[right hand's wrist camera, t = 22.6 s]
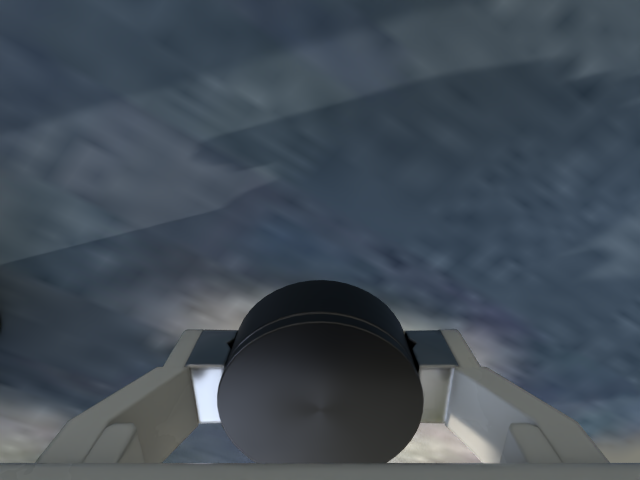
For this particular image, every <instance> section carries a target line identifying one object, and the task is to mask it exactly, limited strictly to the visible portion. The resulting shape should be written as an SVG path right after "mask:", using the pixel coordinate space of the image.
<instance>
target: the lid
mask: <svg viewBox="0 0 640 480" xmlns="http://www.w3.org/2000/svg"><path fill="white" fill-rule="evenodd" d="M423 407H424V395H423V388H422V385H421V381H420V378H419V375H418V372H417V369H416V366H415V363H414V360H413V357H412V354H411V352H410V349H409V346H408V343H407V340H406V337H405V334H404V331H403V329H402V327H401V325H400V322H399V321H398V319H397V318H396V316H395V315H394V313H393V312H392V311H391V310H390V309H389V308H388V307H387V306H386V305H385V304H384V303H383V302H382V301H381V300H379V299H378V298H377V297H375V296H373V295H372V294H370V293H369V292H367V291H365V290H362V289H360V288H358V287H355V286H352V285H349V284H346V283H341V282H336V281H327V280H314V281H305V282H299V283H295V284H292V285H288V286H285V287H283V288H281V289H278V290H276V291H274V292H273V293H271V294H269V295H267V296H266V297H264V298H263V299H262V300H261V301H259V302H258V303H257V304H256V305H255V306H254V307H253V308H252V309H251V310H250V311H249V313H248V314H247V315H246V317H245V318H244V320H243V322H242V324H241V326H240V328H239V330H238V333H237V336H236V338H235V341H234V344H233V346H232V349H231V352H230V355H229V357H228V360H227V363H226V366H225V368H224V371H223V373H222V376H221V379H220V382H219V385H218V392H217V408H218V413H219V418H220V420H221V423H222V426H223V428H224V430H225V432H226V433H227V435H228V437H229V438H230V439H231V441H232V442H233V443H234V445H235V446H236V447H237V448H238V449H239V450H240V451H241V452H242V453H243V454H245V455H246V456H247V457H248V458H250V459H251V460H253V461H254V462H256V463H387V462H388V461H390V460H391V459H393V458H394V457H395V456H397V455H398V454H399V453H400V452H401V451H402V450H403V449H404V448H405V447H406V446H407V444H408V443H409V442H410V441H411V439H412V438H413V436H414V435H415V433H416V431H417V429H418V427H419V424H420V422H421V418H422V414H423Z"/></svg>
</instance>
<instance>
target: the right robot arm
mask: <svg viewBox="0 0 640 480" xmlns="http://www.w3.org/2000/svg"><path fill="white" fill-rule="evenodd" d="M237 333H238V330H186V331H184V332H183V334H182V335H181V337H180V339H179V340H178V342H177V344H176V345H175V347H174V349H173V351H172V352H171V354H170V356H169V357H168V359H167V361H166V362H165V364H164V366H163V367H157V368H155V369H153V370H152V371H150V372H148V373H147V374H145V375H143V376H142V377H140V378H138V379H137V380H135V381H134V382H132V383H130V384H129V385H127V386H125V387H124V388H122V389H120V390H119V391H117V392H115V393H114V394H112V395H110V396H109V397H107V398H106V399H104V400H102V401H101V402H99V403H97V404H96V405H94V406H92V407H91V408H89V409H87V410H86V411H84V412H83V413H81V414H79V415H78V416H76V417H74V418H73V419H71V420H69V421H68V422H67V423H66V424H65V426H64V427H63V428H62V429H61V431H60V432H59V433H58V434H57V436H56V437H55V438H54V440H53V441H52V442H51V443H50V445H49V446H48V447H47V448H46V450H45V451H44V452H43V453H42V455H41V456H40V457H39V458H38V460H37V461H36V462H35V463H0V480H640V463H610V462H609V461H608V460H607V458H606V457H605V456H604V455H603V453H602V452H601V451H600V450H599V448H598V447H597V446H596V445H595V443H594V442H593V441H592V440H591V438H590V437H589V436H588V435H587V433H586V432H585V431H584V430H583V428H582V427H581V426H580V425H579V423H578V422H576V421H575V420H573V419H572V418H570V417H568V416H567V415H565V414H563V413H562V412H560V411H558V410H557V409H555V408H553V407H552V406H550V405H548V404H547V403H545V402H543V401H542V400H540V399H538V398H537V397H535V396H533V395H532V394H530V393H528V392H527V391H525V390H524V389H522V388H520V387H519V386H517V385H515V384H514V383H512V382H510V381H509V380H507V379H505V378H504V377H502V376H500V375H499V374H497V373H495V372H494V371H492V370H490V369H489V368H487V367H481V366H480V365H479V363H478V361H477V360H476V358H475V357H474V355H473V353H472V352H471V350H470V348H469V347H468V345H467V344H466V342H465V340H464V339H463V337H462V336H461V334H460V332H459V331H458V330H456V329H452V330H428V331H404V334H405V337H406V340H407V343H408V346H409V349H410V352H411V354H412V357H413V360H414V363H415V366H416V369H417V372H418V375H419V378H420V381H421V385H422V388H423V395H424V407H423V414H422V418H421V422H420V423H445V426H446V427H447V428H448V429H449V430H450V431H451V432H452V433H453V434H454V435H455V436H456V437H457V438H458V439H459V440H460V441H461V442H462V443H463V444H464V445H465V446H466V447H467V448H468V449H469V450H470V451H471V452H472V453H473V454H474V455H475V456H476V457H477V458H478V459H479V460H480V461H481V462H482V463H162V462H163V461H164V460H165V459H166V458H167V457H168V456H169V455H170V454H171V453H172V452H173V451H174V450H175V449H176V448H177V447H178V445H179V444H180V443H181V442H182V441H183V440H184V439H185V438H186V437H187V436H188V435H189V434H190V433H191V432H192V431H193V430H194V429H195V428H196V427H197V426H198V423H221V420H220V418H219V413H218V408H217V392H218V385H219V382H220V379H221V376H222V373H223V371H224V368H225V366H226V363H227V360H228V357H229V355H230V352H231V349H232V346H233V344H234V341H235V338H236V336H237Z"/></svg>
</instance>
